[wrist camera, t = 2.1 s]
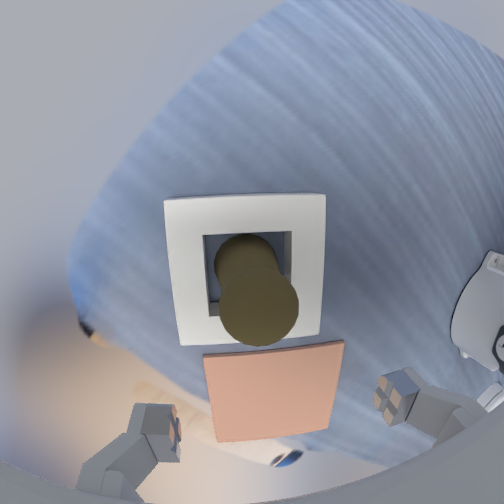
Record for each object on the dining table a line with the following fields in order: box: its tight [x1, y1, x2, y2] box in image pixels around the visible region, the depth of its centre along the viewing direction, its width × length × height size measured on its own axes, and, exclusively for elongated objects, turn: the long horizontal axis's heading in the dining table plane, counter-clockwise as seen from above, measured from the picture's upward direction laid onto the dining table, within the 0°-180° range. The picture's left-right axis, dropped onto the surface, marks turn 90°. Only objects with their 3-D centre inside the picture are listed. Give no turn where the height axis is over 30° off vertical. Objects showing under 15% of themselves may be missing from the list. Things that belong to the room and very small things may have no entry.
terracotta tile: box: [203, 340, 345, 442], centre depth 32 cm, size 16×16×1 cm
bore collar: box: [164, 193, 326, 345], centre depth 25 cm, size 13×13×3 cm
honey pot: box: [477, 383, 504, 413], centre depth 35 cm, size 13×13×18 cm
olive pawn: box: [214, 234, 299, 346], centre depth 22 cm, size 6×6×11 cm
